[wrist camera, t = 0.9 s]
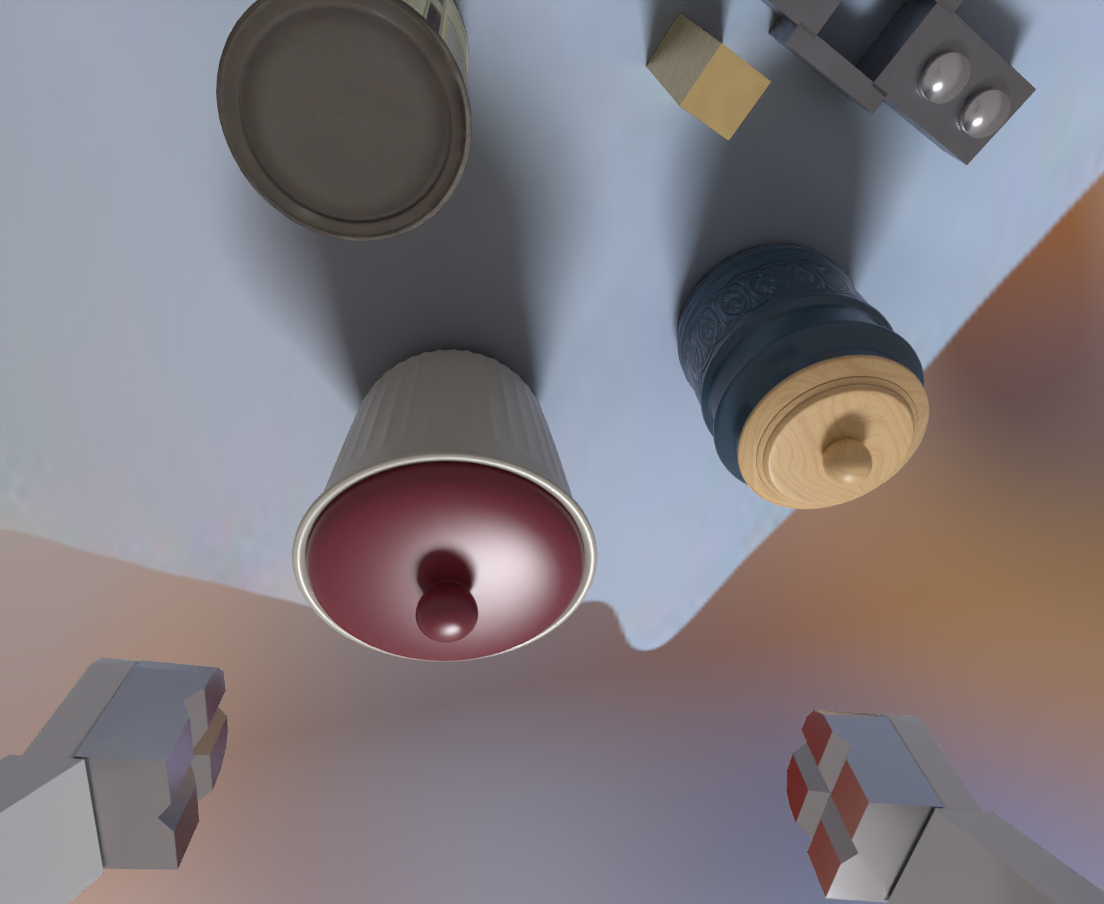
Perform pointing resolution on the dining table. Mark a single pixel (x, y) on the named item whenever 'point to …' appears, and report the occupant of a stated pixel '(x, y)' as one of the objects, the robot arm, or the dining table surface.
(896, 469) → the canister
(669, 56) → the gold rectangular block
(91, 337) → the dining table surface
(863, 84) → the silver studded bar
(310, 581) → the canister
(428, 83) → the coffee can
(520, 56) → the dining table surface
